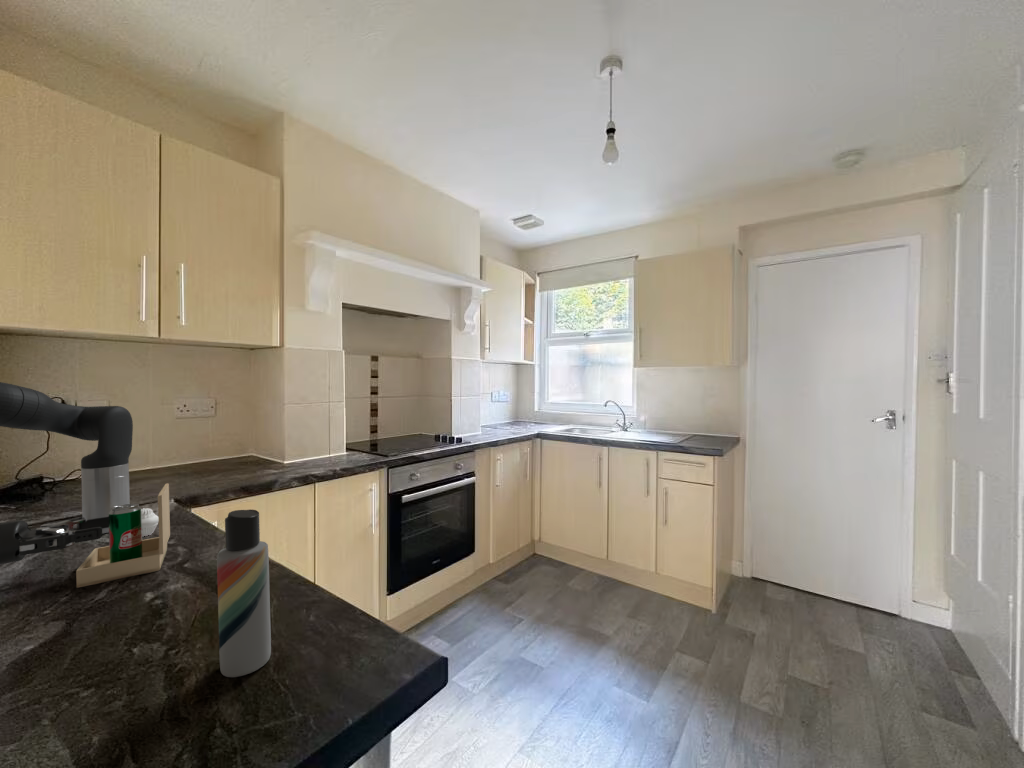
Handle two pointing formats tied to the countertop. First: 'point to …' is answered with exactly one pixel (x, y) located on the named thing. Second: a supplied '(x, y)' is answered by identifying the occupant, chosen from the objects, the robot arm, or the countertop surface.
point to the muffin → (148, 521)
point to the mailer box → (153, 556)
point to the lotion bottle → (243, 596)
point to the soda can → (125, 533)
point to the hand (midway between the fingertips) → (106, 526)
